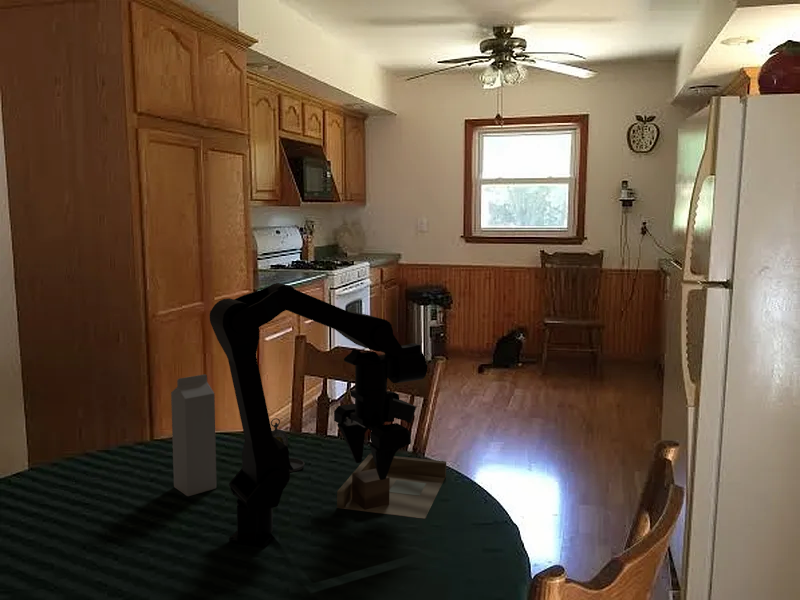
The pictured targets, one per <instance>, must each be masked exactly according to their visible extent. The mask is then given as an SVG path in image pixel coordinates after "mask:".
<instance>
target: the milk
mask: <svg viewBox="0 0 800 600" xmlns="http://www.w3.org/2000/svg"><path fill="white" fill-rule="evenodd" d="M176 381H177V382H176V383H177V387H175V388H174V389H173V390H172V391H171V393H170V395H171V396H170V397H171V398H170V399H171V401H170V402H171V428H172V430H171V431H172V433H171V434H172V437H171V438H172V462H173V463H172V465H173V467H172V469H173V487H174V488H175V489H176V490H178V491H179V492H180V493H182V494H184V495H185V496H186V497H190V496H194V495H197V494H201V493H205V492H208V491H211V490H215V489H217V456H216V455H217V454H216V453H217V450H216V449H217V448H216V447H217V445H216V409H215V408H216V406H215V405H216V401H215V392H214V389H212V387H211V386H210V384H209V382H208V375H207V374H205V373H204V374H200V375H199V374H198V375H193V376H185V377H180V378H177V380H176Z"/></svg>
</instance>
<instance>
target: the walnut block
mask: <svg viewBox="0 0 800 600" xmlns="http://www.w3.org/2000/svg"><path fill="white" fill-rule="evenodd" d="M351 475H352V500H353V501H355V502H356V503H357V504H358V505H359V506H361V507H362V508H363V509H364V510H366V509H370V508H375V507H379V506H383V505H387V504H389V489H390V477H388V476H387V477H386V479H384V480H380V479H379V476H378V473H377V470H376V469H371V470H366V471H361V472H356V473H353V472H352V473H351Z"/></svg>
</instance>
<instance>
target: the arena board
mask: <svg viewBox="0 0 800 600" xmlns="http://www.w3.org/2000/svg"><path fill="white" fill-rule="evenodd" d="M371 469H376V466H375V463H374V459H373V456H372V453H369V454H368V455H367V456H366V458H364V459H363V460H362V461H361V462H360V464H359V465H358V466H357V468H356V469H355V470H354V471H353V472H352V473H356V472H361V471H366V470H371ZM387 476H388V477H390V489H389V504H387V505H383V506H379V507H375V508H370V509H366V510H364V509H363V508H362V507H361V506H359V505H358V504H357V503H356V502H355V501H353V500H352V474H350V476H349V477H348V478H347V480H345V481H344V483H343V484H342V485H341V487H339V489H338V490H337V491H336V492H337V493H336V494H337V495H336V500H337V501H336V508H337V509H345V510H352V511H361V512H368V513H376V514H384V515H390V516H391V515H392V516H400V517H408V518H417V519H423V520H425V519H426V518H427V516H428V513H429V511H430V510H431V508H432V505H433V503H434V502H435V499H436V498H437V496H438V493H439V491H440V490H441V487H442V485H443V483H444V481H445V479H446V476H447V461H445V460H437V459H428V458H426V459H425V458H419V457H418V458H416V457H410V456H409V457H407V456H397V455H396V456H394V458H393V460H392V463H391V466H390V468H389V471H388V474H387Z"/></svg>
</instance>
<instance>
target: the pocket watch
mask: <svg viewBox="0 0 800 600" xmlns="http://www.w3.org/2000/svg"><path fill="white" fill-rule="evenodd" d="M275 420H277V421H278V423H277V422H275V423H274V424H273V421H275ZM280 423H281V420H280V419H279V418H277V417H275V418H273V419H272V420H271V421H270V425H271V427H273V428H274V429H273V430H272V435H273V437H275V438H277V439H278V440H279V441H281V442H282V443H283V444H285V445H286V446H287V447H289V446H288V445H289V438H288V434H287V433H286V431H284V430H282V429H278V427H279V425H280ZM289 462H290V465H291V466H292V467H293V470H289V471H290V473H294V472H298V471H301V470H302V469H303V468H305V461H303V460H302V459H299V458H295V457H289Z"/></svg>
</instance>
